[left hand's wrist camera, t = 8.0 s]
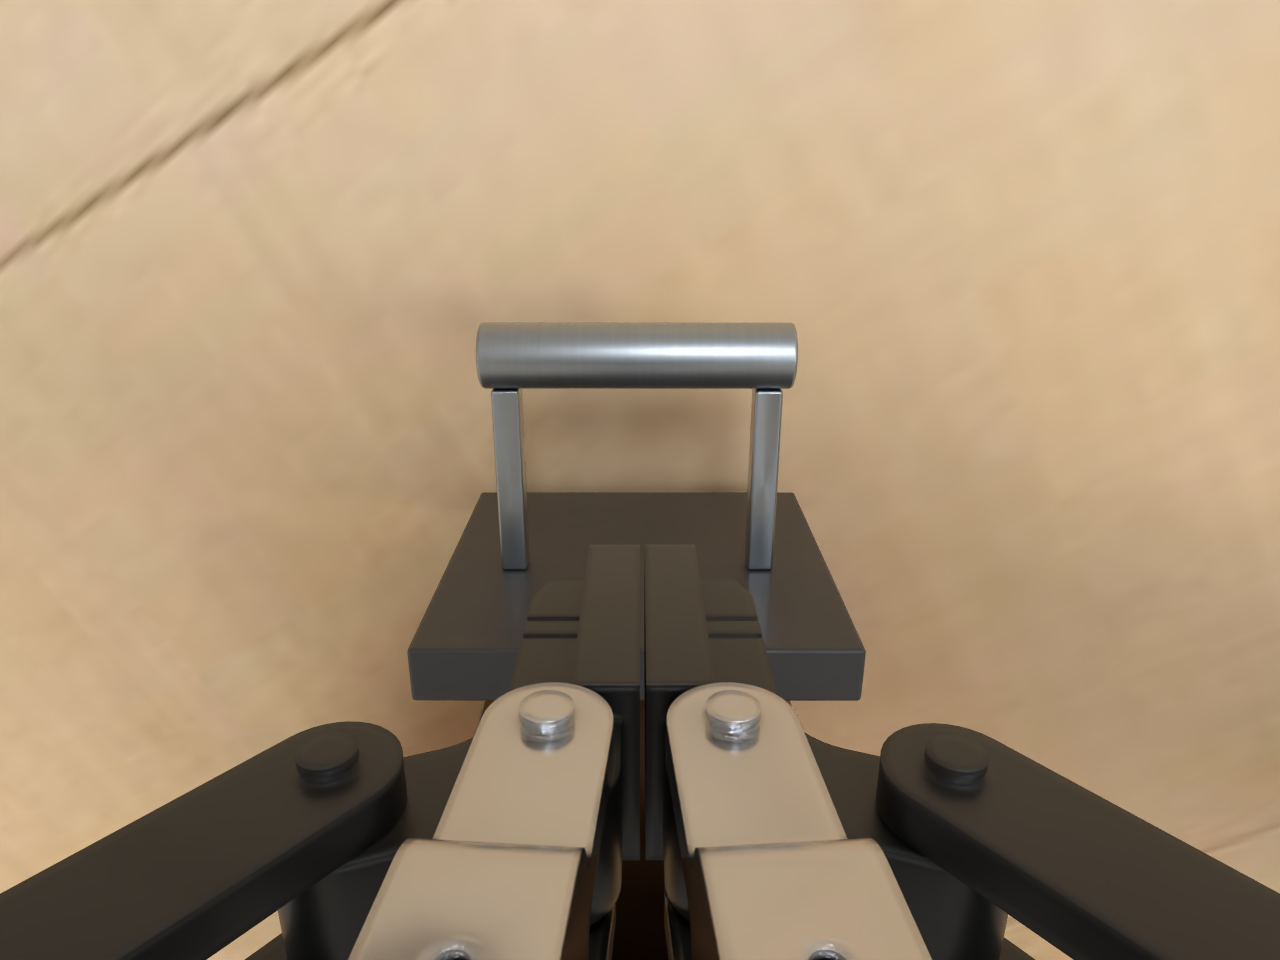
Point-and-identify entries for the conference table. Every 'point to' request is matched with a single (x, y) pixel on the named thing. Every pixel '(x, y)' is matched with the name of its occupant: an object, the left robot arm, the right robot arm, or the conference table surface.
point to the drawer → (634, 537)
